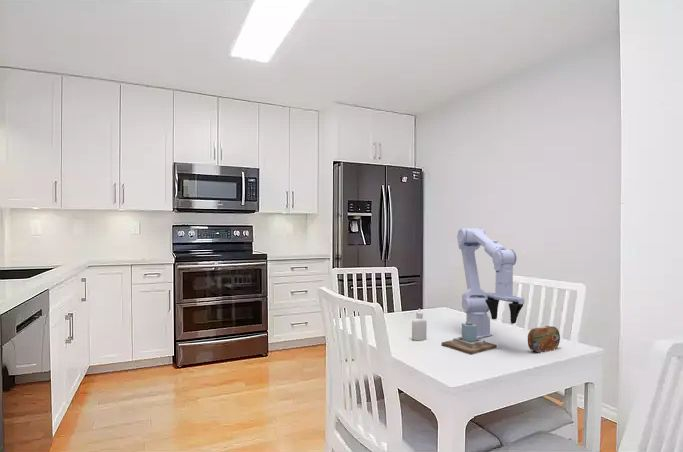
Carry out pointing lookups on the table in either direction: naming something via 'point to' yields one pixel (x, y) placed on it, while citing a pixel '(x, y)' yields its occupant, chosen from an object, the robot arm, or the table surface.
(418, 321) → the eye dropper bottle
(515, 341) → the table surface
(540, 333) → the tin
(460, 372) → the table surface
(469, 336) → the peg
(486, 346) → the dock
